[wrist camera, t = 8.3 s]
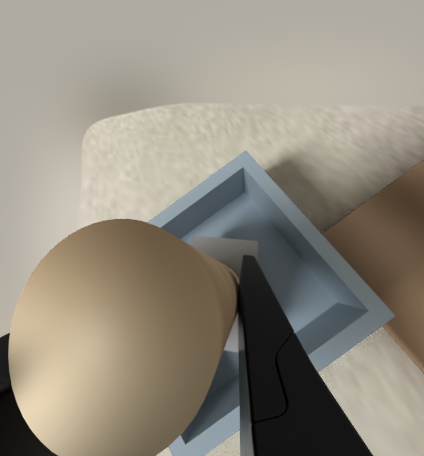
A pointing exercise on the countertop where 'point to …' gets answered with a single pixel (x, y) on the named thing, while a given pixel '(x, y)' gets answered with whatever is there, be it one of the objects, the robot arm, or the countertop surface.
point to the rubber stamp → (123, 336)
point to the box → (271, 282)
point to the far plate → (391, 255)
